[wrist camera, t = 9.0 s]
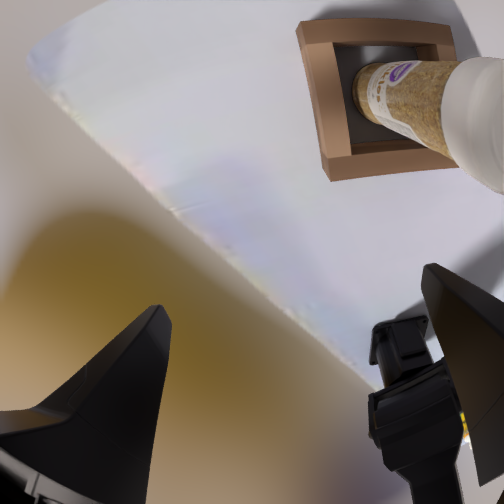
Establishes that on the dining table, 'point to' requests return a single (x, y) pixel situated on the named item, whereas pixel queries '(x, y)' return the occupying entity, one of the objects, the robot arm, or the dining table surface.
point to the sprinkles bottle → (442, 109)
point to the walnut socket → (332, 103)
